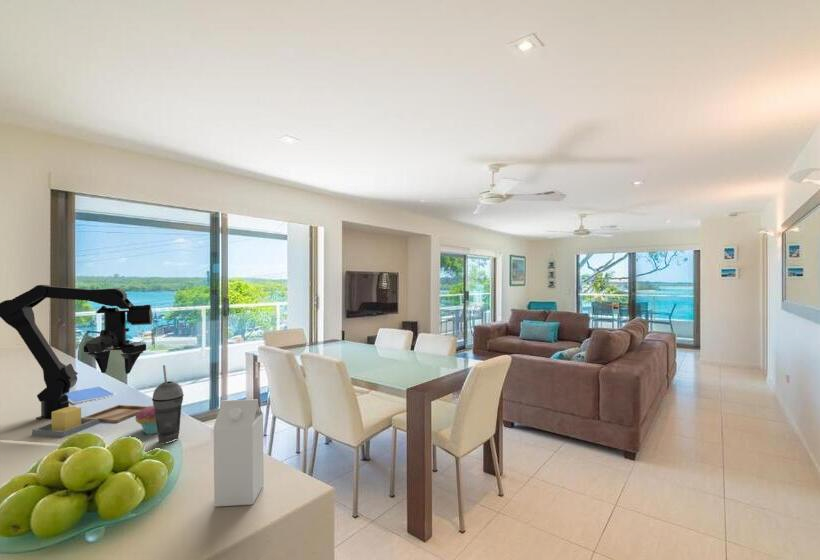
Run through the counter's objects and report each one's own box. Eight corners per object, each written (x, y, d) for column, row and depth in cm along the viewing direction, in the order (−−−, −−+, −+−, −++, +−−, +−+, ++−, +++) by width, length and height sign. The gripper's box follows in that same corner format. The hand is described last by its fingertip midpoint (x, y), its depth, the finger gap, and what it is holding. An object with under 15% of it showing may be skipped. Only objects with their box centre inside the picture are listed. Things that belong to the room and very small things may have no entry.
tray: (82, 422, 119) (82, 417, 119) (118, 409, 131) (118, 404, 131) (117, 424, 117) (117, 420, 117) (151, 410, 129) (151, 406, 129)
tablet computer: (58, 396, 148) (58, 393, 148) (100, 388, 158) (100, 385, 158) (73, 406, 136) (73, 402, 136) (116, 397, 146) (116, 393, 146)
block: (51, 431, 110) (51, 411, 110) (68, 425, 115) (68, 406, 115) (65, 432, 110) (65, 412, 110) (81, 426, 114) (81, 407, 114)
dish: (32, 437, 108) (32, 429, 108) (70, 423, 118) (69, 416, 118) (63, 439, 106) (63, 431, 106) (99, 425, 116) (99, 418, 116)
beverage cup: (169, 447, 101) (168, 369, 101) (145, 444, 102) (144, 368, 102) (190, 435, 108) (189, 363, 108) (167, 433, 109) (167, 362, 109)
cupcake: (178, 427, 114) (178, 386, 114) (150, 438, 106) (150, 394, 106) (156, 424, 117) (156, 383, 117) (128, 435, 109) (127, 391, 109)
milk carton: (228, 487, 81) (227, 395, 81) (263, 485, 82) (262, 394, 81) (214, 507, 74) (213, 406, 74) (253, 505, 74) (252, 405, 74)
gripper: (66, 328, 124) (67, 378, 124) (117, 329, 121) (118, 380, 121) (99, 324, 135) (100, 370, 135) (147, 325, 132) (147, 371, 132)
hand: (115, 373), depth 131 cm, fingers open, 9 cm apart
